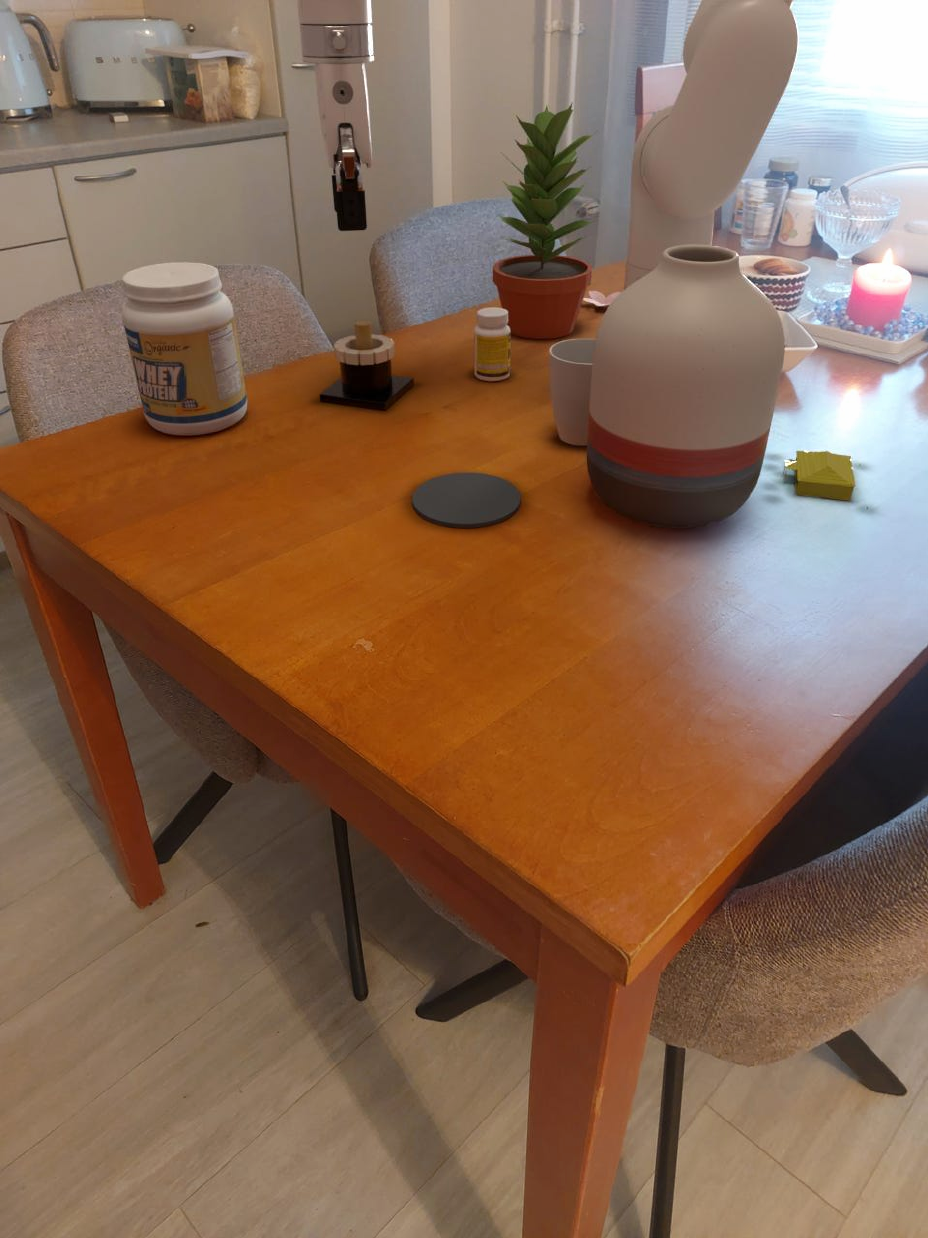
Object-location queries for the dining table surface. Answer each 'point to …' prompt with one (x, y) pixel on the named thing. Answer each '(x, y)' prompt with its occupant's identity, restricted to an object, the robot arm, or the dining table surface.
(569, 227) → the potted plant
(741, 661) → the dining table surface
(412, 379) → the ring holder
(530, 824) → the dining table surface
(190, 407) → the supplement tub
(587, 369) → the cup
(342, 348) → the ring
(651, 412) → the vase
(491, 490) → the coaster
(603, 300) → the flower
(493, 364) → the supplement bottle
